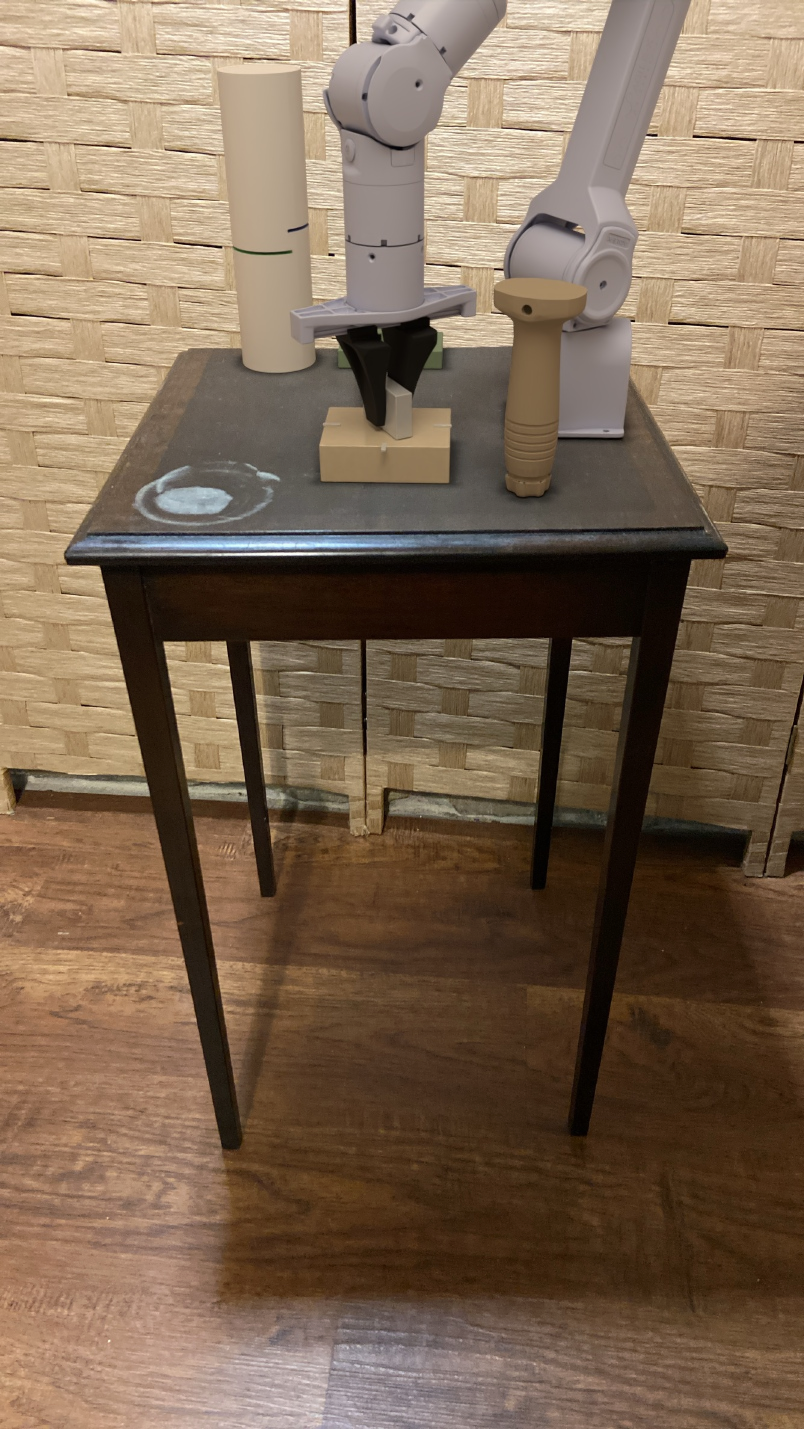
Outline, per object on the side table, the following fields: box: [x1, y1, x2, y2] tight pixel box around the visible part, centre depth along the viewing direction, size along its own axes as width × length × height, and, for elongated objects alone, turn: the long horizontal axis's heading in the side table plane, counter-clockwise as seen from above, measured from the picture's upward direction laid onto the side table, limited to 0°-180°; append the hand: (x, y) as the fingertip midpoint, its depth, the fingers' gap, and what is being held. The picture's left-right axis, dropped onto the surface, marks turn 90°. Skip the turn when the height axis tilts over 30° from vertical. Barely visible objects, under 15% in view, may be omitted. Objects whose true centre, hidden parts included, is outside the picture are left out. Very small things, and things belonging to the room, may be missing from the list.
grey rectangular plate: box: [362, 376, 413, 440], centre depth 88 cm, size 6×1×4 cm, turn 27°
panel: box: [318, 406, 453, 484], centre depth 90 cm, size 10×10×3 cm
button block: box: [337, 328, 444, 370], centre depth 110 cm, size 10×6×4 cm, turn 87°
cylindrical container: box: [216, 63, 317, 374], centre depth 103 cm, size 7×7×25 cm
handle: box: [492, 278, 587, 498], centre depth 82 cm, size 5×6×15 cm
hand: (387, 419), depth 89 cm, fingers closed on grey rectangular plate
